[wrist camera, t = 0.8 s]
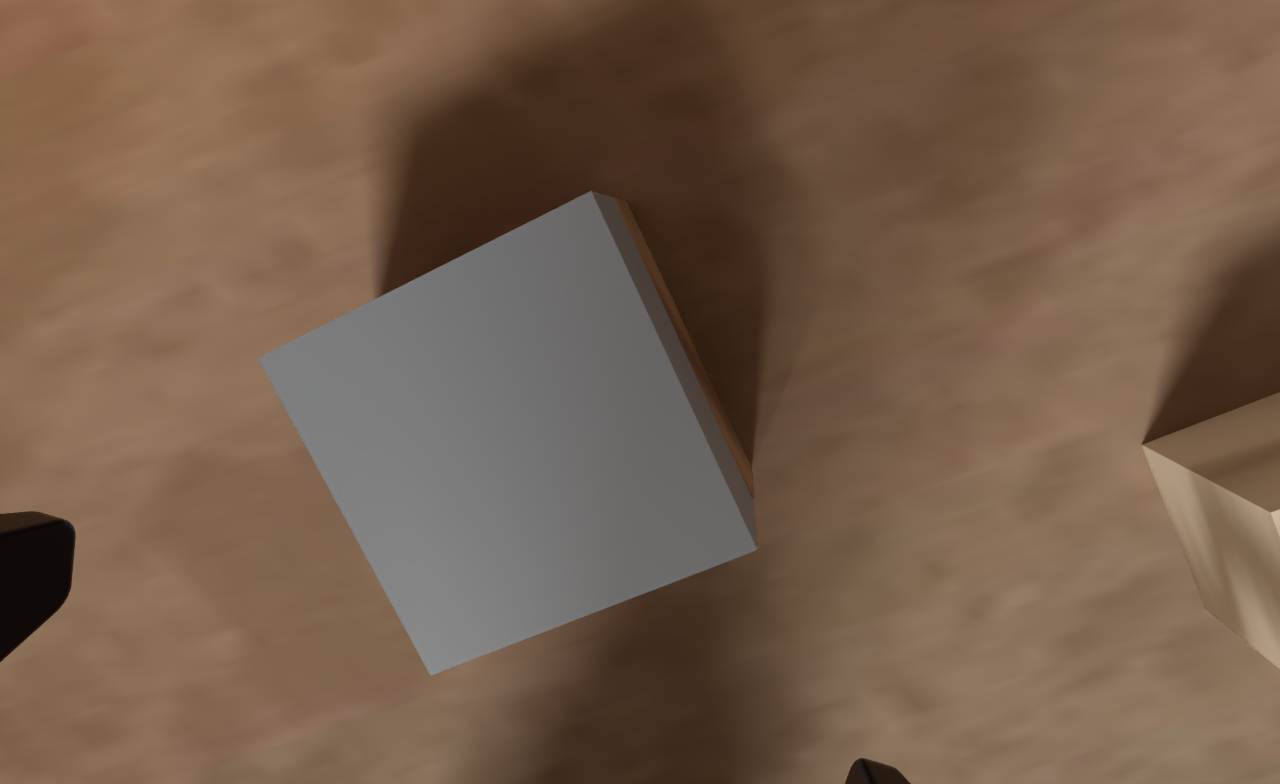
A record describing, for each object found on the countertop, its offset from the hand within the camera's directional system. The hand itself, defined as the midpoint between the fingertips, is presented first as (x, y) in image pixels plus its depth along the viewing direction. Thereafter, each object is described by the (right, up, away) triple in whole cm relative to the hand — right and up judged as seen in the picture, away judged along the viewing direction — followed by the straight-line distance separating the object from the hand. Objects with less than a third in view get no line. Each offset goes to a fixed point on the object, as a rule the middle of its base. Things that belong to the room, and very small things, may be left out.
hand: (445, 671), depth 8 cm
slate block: (0, +2, +11) cm, 11 cm away
